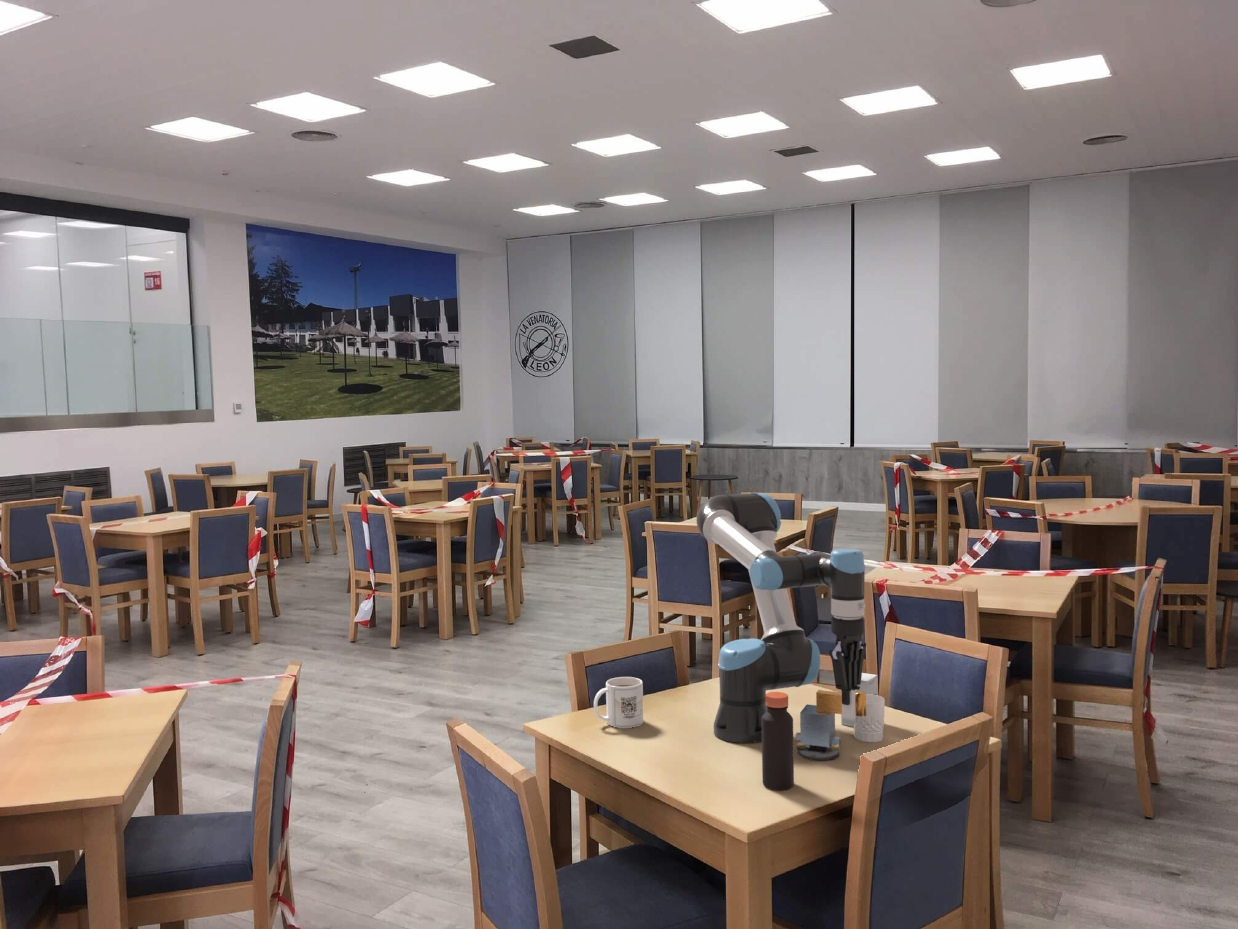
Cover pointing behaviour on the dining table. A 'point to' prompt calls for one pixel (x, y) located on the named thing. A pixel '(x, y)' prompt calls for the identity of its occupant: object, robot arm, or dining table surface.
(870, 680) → the supplement box
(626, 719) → the mug
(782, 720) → the bottle
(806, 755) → the dark grey cylinder
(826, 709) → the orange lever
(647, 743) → the dining table surface
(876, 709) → the white cup
